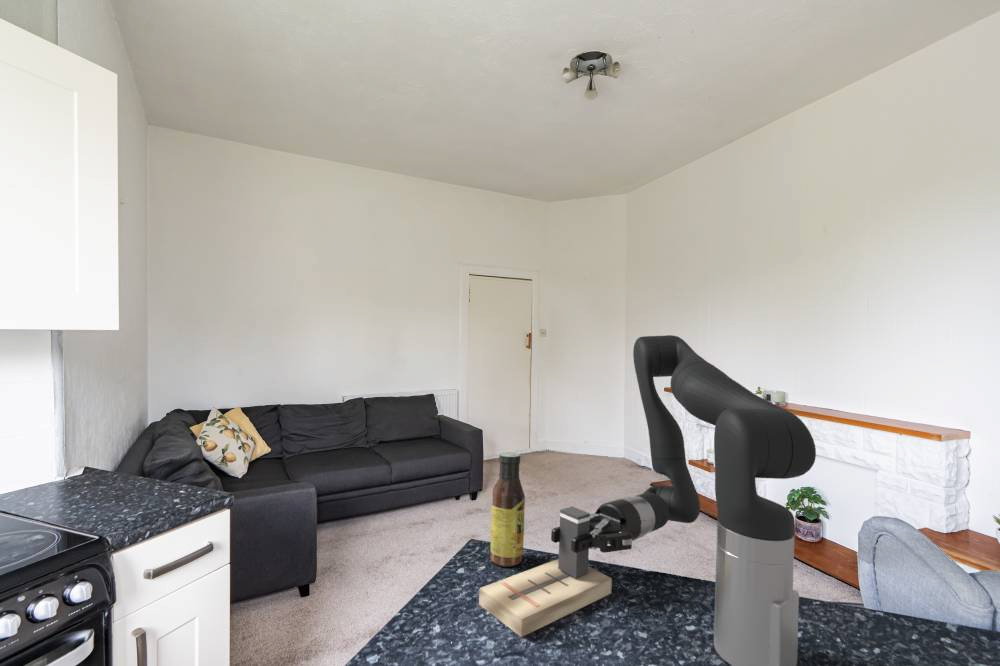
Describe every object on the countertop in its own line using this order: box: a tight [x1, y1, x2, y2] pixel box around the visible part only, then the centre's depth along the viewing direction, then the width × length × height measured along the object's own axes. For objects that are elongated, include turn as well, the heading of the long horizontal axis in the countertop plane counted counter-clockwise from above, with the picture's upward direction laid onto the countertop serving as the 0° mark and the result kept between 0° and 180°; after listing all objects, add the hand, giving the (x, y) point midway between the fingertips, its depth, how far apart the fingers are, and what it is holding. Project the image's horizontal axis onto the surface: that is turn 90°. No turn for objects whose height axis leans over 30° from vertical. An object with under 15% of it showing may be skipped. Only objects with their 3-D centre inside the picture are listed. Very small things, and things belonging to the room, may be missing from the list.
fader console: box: [478, 558, 613, 638], centre depth 75 cm, size 10×20×3 cm, turn 129°
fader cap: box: [558, 506, 591, 578], centre depth 79 cm, size 4×3×10 cm
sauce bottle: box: [489, 451, 526, 568], centre depth 88 cm, size 7×6×20 cm
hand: (563, 540), depth 77 cm, fingers closed on fader cap, 4 cm apart
